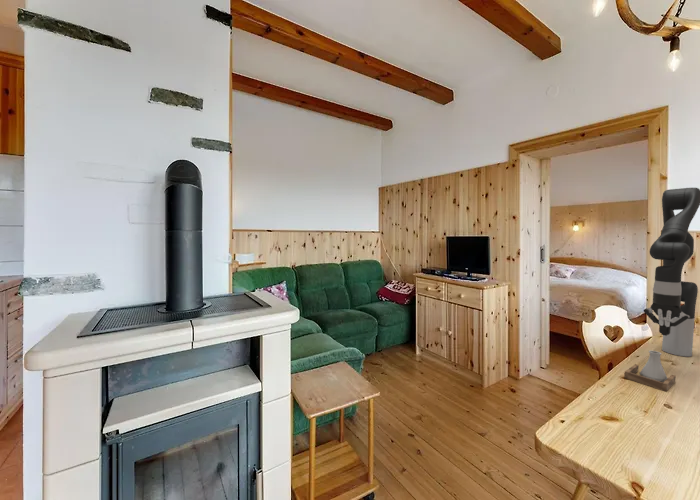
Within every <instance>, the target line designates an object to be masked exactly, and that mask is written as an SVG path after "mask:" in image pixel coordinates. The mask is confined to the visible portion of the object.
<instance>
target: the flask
mask: <svg viewBox="0 0 700 500" xmlns="http://www.w3.org/2000/svg"><path fill="white" fill-rule="evenodd" d="M648 353H649V356H648V360H647V362H646V363H645V365H644V366H643V367H642V369H641V370H640V372H639V374H638V375H640V376H644V377H647V378H650V379H654V380H657V381H660V382H664V381H665V380H667V379H668V378H669V377H668V376H667V374H666V372H665V370H664V367H663V364H662V361H661V360H662V359H661V356H662V352H660V351H656V350H648Z"/></svg>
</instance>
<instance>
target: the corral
mask: <svg viewBox="0 0 700 500" xmlns="http://www.w3.org/2000/svg"><path fill="white" fill-rule="evenodd" d="M638 372H639V364H636V363H635V364H633V365H632V366H631V367H629V368H628V369H626V370H625V371H624V372H623V373H624V377H623V378H624V379H627V380H629V381H631V382H636V383H639V384H642V385H645V386H647V387H650V388H654V389H657V390H661V391H664V392H667V391H668V390H669V389H670V388H671V387H672V386H673V385H674V384H675V383H676V375H675V374H670V376H668V377H667V378H668V379H667V380H665V381H664V382H662V381H657V380H654V379H650V378H647V377H644V376H642V375H641V374H638Z"/></svg>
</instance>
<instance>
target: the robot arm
mask: <svg viewBox="0 0 700 500" xmlns="http://www.w3.org/2000/svg"><path fill="white" fill-rule="evenodd" d="M661 205H662V206H661V208H662V221H663V225H662V226H663V227H662V229H661V233H660V234H659V237H658V238H657V239H656V240H655V241H654V242H653V243H652V245H651V246H650V248H649V256H650V257H651V258H652V259H654V260H659V261H661V260H662V265H658V266H656V268H655V270H654V271H655V272H654V283H653V288H652V304H651V305H650V307H648V308H647V307H646V308H644V309H643V312H644V314H645V315H647V317H648V318H649V320H651V321H652V323H653V324H657V325H659V329H658V332H659V334H660V335H661V336H662V341H661V342H662V343H661V350H662V351H663V352H665V353H667V354H672V355H674V356H680V357H692V356H693V348H694V347H693V344H694V332H695V330H694V329H695V317H696V316H695V315H696V305H697V298H698V293H699V291H698V290H699V289H698V285H697V283H695V282H692V281H682V272H683V269H684V266H685V263H687V261H689V259H691V258H692V257H693V255H694V252H695V250H694V249H695V246H694V245H695V244H694V243H695V240H694V239H695V238H694V237H693V236H692V234H691V233H690V232H689V228H690V225H691V223H692V221H693V219H694V218H695V216H696V213H697V212H698V209H699V208H700V188H699V187H683V188H681V187H680V188H672V189H671V188H670V189H665V190H664V191H663V193H662V198H661ZM680 210H681V211H680ZM674 211H680V212H677V213H676V214H675V212H674ZM682 302H683V304H682ZM681 304H682V305H681ZM654 313H655V314H654Z"/></svg>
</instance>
